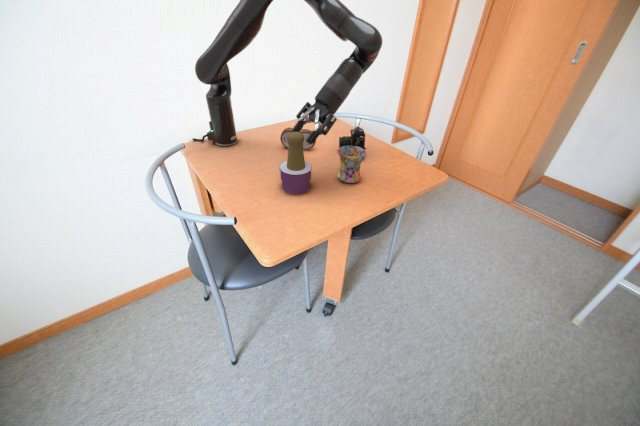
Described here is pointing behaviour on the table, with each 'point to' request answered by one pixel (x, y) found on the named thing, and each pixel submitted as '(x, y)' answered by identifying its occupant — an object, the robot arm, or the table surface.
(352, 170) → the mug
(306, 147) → the tin
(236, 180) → the table surface
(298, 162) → the olive green pawn
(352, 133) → the film camera
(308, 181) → the yogurt tub
